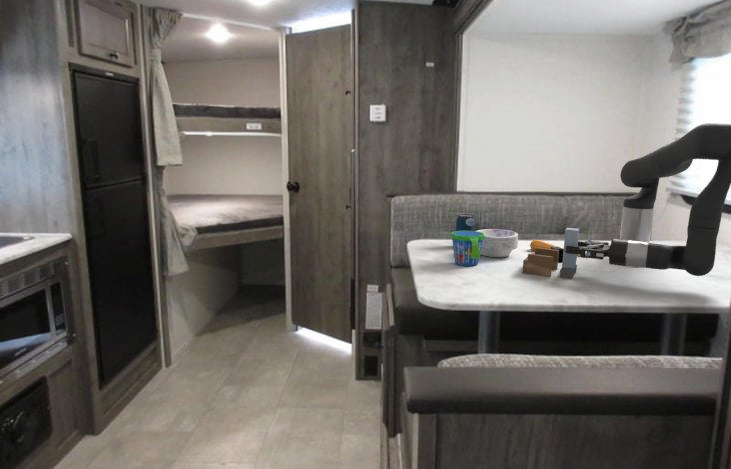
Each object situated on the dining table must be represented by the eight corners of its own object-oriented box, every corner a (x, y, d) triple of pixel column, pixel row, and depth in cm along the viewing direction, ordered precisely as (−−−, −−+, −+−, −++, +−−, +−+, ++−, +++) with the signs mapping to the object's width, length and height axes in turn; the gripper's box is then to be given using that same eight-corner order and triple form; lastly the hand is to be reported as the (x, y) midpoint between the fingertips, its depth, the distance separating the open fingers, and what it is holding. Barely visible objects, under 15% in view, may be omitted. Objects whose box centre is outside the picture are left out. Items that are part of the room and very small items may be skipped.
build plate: (575, 265, 167) (576, 251, 166) (553, 265, 166) (554, 252, 165) (557, 256, 179) (558, 243, 178) (537, 256, 178) (538, 244, 177)
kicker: (564, 270, 158) (568, 226, 156) (576, 272, 157) (580, 227, 154) (559, 277, 151) (563, 230, 148) (571, 279, 149) (576, 232, 146)
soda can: (475, 249, 187) (477, 216, 184) (456, 248, 187) (458, 216, 184) (472, 245, 193) (473, 213, 191) (453, 244, 193) (455, 213, 191)
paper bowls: (464, 254, 178) (465, 232, 176) (484, 247, 189) (485, 226, 188) (505, 262, 168) (506, 238, 166) (524, 254, 179) (525, 232, 178)
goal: (530, 265, 164) (532, 246, 163) (557, 268, 160) (559, 250, 159) (522, 273, 155) (523, 253, 154) (550, 277, 151) (552, 257, 150)
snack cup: (445, 258, 173) (446, 228, 171) (476, 258, 173) (478, 228, 171) (455, 270, 157) (456, 237, 155) (488, 270, 158) (490, 238, 156)
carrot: (528, 252, 186) (528, 242, 184) (533, 246, 189) (533, 236, 187) (584, 266, 175) (585, 256, 172) (589, 260, 177) (590, 249, 175)
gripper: (631, 236, 150) (573, 230, 158) (628, 244, 138) (565, 238, 146) (628, 261, 151) (570, 254, 159) (625, 271, 139) (562, 263, 147)
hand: (568, 246), depth 152 cm, fingers open, 8 cm apart
